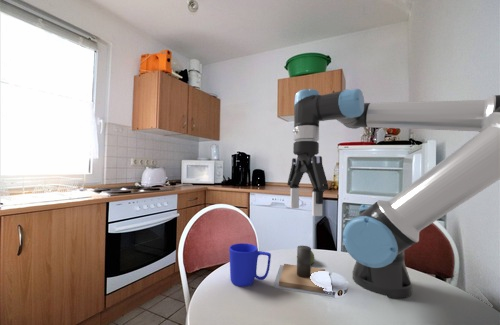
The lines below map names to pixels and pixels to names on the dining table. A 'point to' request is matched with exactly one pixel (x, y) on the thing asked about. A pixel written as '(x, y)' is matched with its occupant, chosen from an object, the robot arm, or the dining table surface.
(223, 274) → the dining table surface
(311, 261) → the pear
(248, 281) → the mug
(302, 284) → the lid
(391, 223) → the robot arm
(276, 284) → the mat
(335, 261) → the dining table surface
